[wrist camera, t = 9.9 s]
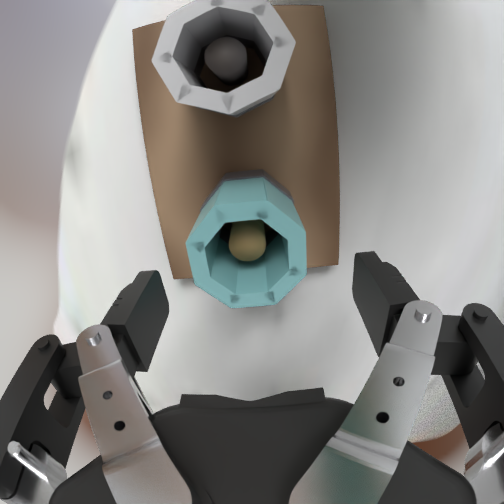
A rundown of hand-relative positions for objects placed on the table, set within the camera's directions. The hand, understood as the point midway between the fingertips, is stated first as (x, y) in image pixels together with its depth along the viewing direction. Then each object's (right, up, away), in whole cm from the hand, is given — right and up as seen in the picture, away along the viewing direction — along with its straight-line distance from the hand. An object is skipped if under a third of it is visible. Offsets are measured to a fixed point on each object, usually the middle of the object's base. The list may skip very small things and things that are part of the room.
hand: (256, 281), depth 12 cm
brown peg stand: (-1, +8, +6) cm, 11 cm away
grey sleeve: (-1, +12, +3) cm, 12 cm away
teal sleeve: (0, +4, +7) cm, 8 cm away
